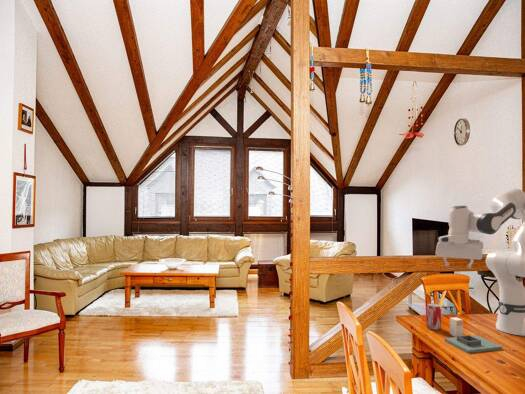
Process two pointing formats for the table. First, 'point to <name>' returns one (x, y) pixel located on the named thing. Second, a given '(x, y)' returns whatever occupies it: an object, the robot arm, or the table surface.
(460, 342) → the board
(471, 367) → the table surface
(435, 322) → the soda can
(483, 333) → the table surface
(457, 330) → the plug
